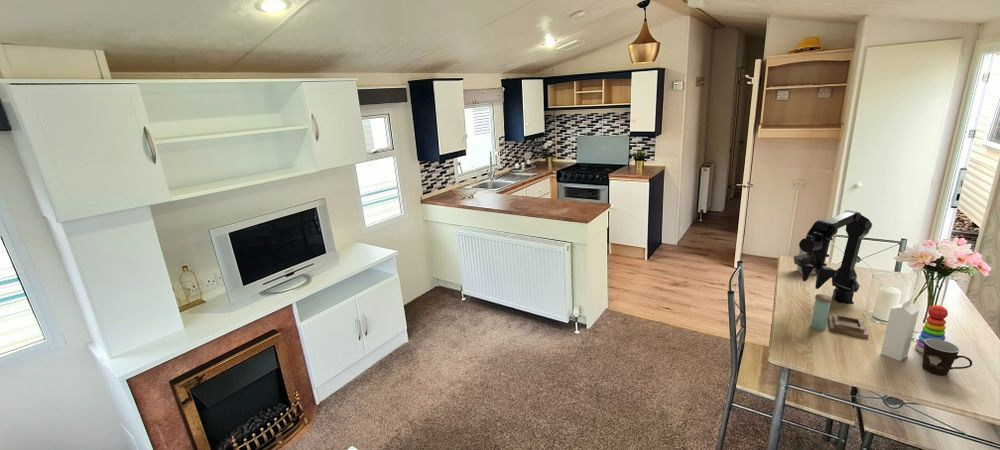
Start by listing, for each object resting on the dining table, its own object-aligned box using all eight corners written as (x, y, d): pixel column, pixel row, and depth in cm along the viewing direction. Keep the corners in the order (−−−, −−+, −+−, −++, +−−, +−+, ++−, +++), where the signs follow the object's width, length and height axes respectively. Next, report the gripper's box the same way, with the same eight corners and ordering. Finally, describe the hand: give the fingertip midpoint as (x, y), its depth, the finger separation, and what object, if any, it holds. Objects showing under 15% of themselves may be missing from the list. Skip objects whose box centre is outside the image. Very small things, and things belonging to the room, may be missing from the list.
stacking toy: (931, 345, 167) (943, 301, 161) (950, 358, 159) (963, 311, 154) (909, 345, 168) (920, 301, 162) (926, 357, 160) (938, 311, 155)
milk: (907, 356, 162) (922, 302, 155) (900, 361, 159) (914, 307, 152) (887, 348, 167) (900, 296, 160) (879, 353, 164) (892, 300, 157)
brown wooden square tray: (828, 318, 189) (829, 311, 188) (863, 324, 183) (865, 318, 182) (830, 331, 180) (831, 324, 179) (868, 338, 173) (869, 331, 173)
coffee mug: (911, 364, 157) (917, 339, 154) (933, 361, 158) (940, 337, 155) (945, 384, 146) (952, 358, 143) (969, 382, 147) (977, 356, 144)
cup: (823, 324, 184) (828, 294, 180) (828, 331, 180) (834, 300, 175) (808, 323, 186) (813, 293, 182) (812, 330, 181) (818, 299, 177)
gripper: (787, 242, 195) (779, 275, 198) (812, 254, 177) (803, 291, 180) (813, 244, 194) (805, 278, 197) (841, 257, 176) (831, 293, 179)
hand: (810, 284), depth 189 cm, fingers open, 9 cm apart
